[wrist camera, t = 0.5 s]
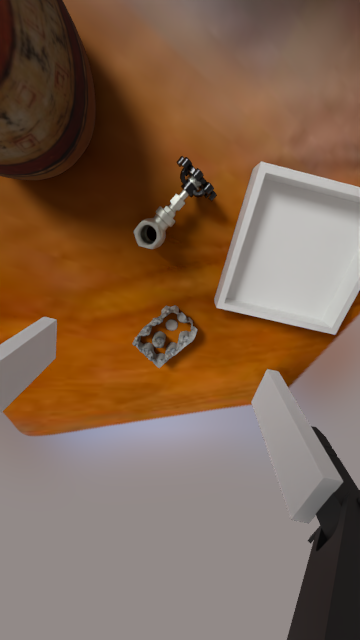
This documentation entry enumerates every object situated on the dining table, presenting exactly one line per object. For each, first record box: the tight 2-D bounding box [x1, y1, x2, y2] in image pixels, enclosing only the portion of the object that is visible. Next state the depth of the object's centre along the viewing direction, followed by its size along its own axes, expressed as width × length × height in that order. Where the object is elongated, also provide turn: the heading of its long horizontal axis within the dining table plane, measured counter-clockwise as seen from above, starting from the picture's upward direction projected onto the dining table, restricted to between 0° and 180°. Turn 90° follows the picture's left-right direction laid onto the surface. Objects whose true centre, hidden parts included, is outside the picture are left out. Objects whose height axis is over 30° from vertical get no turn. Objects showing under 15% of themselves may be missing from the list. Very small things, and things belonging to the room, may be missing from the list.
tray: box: [214, 162, 360, 335], centre depth 35 cm, size 20×20×4 cm
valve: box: [134, 156, 217, 249], centre depth 32 cm, size 7×7×12 cm
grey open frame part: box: [133, 305, 197, 368], centre depth 41 cm, size 11×8×4 cm
